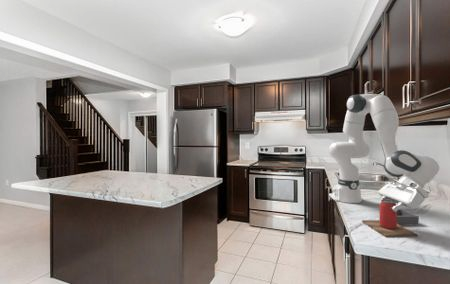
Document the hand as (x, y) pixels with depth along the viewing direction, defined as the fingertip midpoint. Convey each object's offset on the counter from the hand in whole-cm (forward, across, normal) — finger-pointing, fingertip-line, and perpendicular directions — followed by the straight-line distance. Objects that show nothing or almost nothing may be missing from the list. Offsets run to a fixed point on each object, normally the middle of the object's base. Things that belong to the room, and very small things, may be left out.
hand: (386, 207), depth 105 cm
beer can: (+6, 0, +7) cm, 9 cm away
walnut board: (+7, 0, +8) cm, 10 cm away
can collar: (-3, -10, +17) cm, 20 cm away
